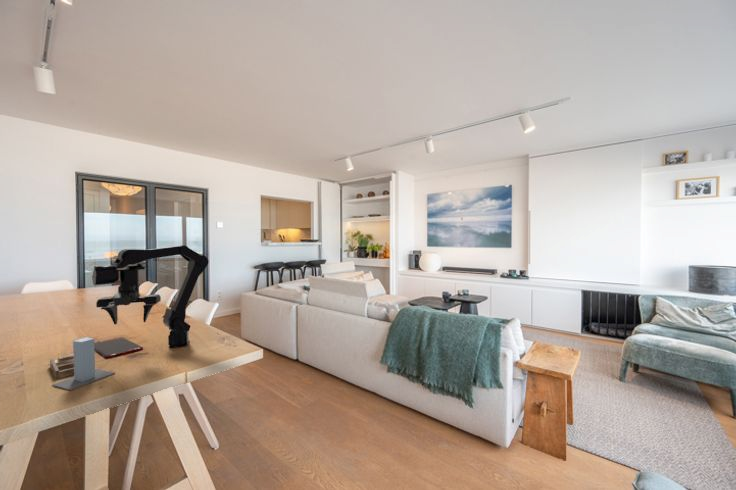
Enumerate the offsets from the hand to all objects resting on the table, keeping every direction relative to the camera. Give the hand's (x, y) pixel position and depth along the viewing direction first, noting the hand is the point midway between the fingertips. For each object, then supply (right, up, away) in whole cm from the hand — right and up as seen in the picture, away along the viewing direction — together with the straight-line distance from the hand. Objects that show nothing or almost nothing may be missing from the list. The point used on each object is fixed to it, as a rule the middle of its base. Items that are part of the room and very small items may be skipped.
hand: (130, 323), depth 117 cm
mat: (-1, -14, -18) cm, 23 cm away
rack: (-14, -13, -10) cm, 22 cm away
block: (-1, -13, -18) cm, 22 cm away
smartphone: (-14, -14, +11) cm, 22 cm away
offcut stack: (-17, -13, -7) cm, 23 cm away
